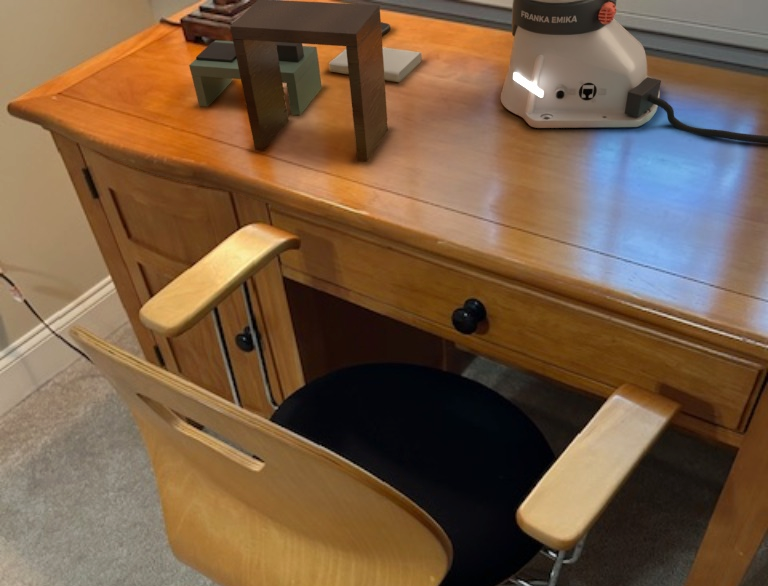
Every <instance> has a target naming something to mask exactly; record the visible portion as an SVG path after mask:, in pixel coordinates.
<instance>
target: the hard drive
mask: <svg viewBox="0 0 768 586" xmlns="http://www.w3.org/2000/svg"><path fill="white" fill-rule="evenodd" d="M382 48H383V63H384V78H385V81H388V82H393V83H394V82H395V83H401V82H402V81H403V80H404V79H406V77H408V75H409V74H410V73H411V72H412V71H414V70H415V69H416V68H417V67H418V65H420V64H421V62H422V59H423V55H422V52H421V51H413V50H408V49H407V50H406V49H399V48H391V47H383V46H382ZM328 67H329V68H328V69H329V72H330V73H331V72H332V73H333V72H334V73H338V74H342V75H349V71H348V61H347V51H346V48H345V49H344V50H343V51H341V52H340V53H339V54H338V55H336V56H335V57H334V58H333V59H332V60H330V61H329V63H328Z"/></svg>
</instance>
